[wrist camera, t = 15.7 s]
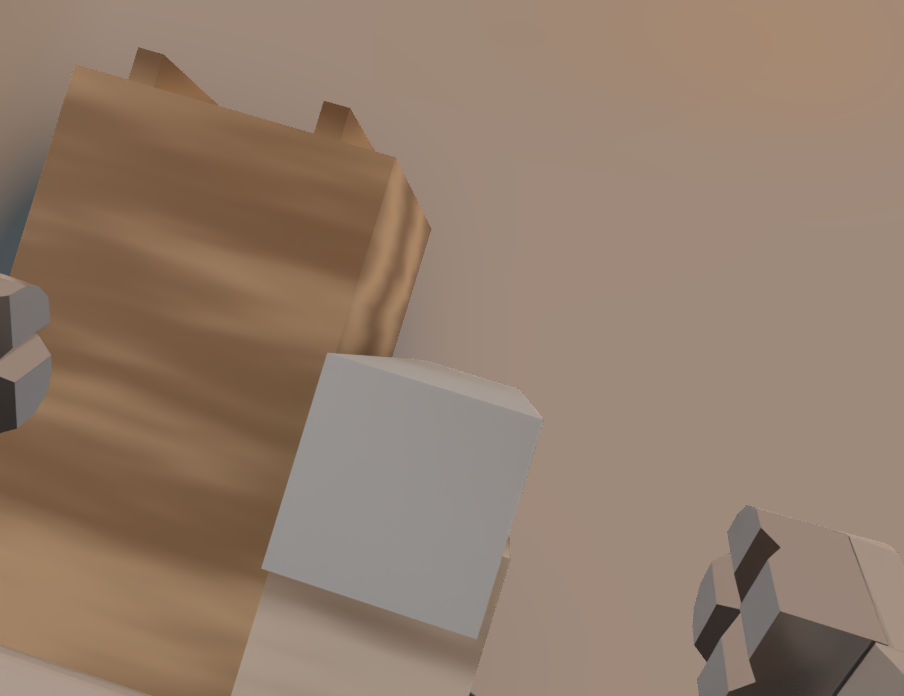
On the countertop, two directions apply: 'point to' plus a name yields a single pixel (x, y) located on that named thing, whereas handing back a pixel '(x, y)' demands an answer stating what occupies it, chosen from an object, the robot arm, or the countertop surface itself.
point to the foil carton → (405, 487)
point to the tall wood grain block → (201, 395)
